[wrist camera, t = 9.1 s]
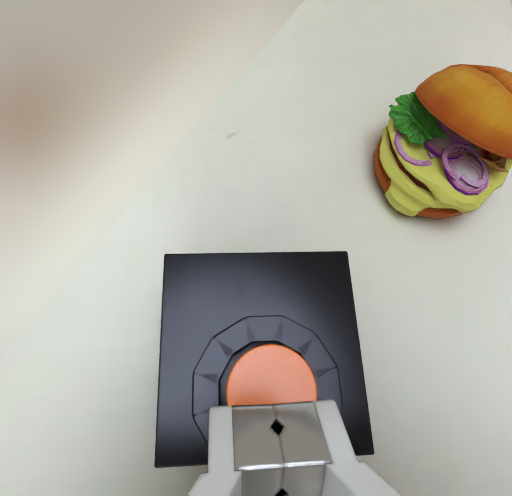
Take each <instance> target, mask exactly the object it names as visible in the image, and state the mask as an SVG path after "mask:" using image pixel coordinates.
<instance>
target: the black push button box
mask: <svg viewBox="0 0 512 496" xmlns="http://www.w3.org/2000/svg"><path fill="white" fill-rule="evenodd" d="M265 344H277V345H282V346H285V347H288V348H290V349H292V350H293V351H295V352H297V353H298V354H299V355H300V356H301V357H302V358H303V359H304V360H305V361H306V362H307V364H308V365H309V366H310V368H311V370H312V372H313V375H314V377H315V381H316V385H317V401H318V400H334V401H335V403H336V405H337V407H338V410H339V413H340V415H341V418H342V421H343V423H344V426H345V429H346V432H347V434H348V437H349V440H350V442H351V445H352V448H353V450H354V453H355V456H360V455H373V454H374V447H373V439H372V432H371V425H370V417H369V410H368V402H367V395H366V387H365V380H364V372H363V365H362V358H361V350H360V343H359V335H358V328H357V320H356V313H355V305H354V298H353V291H352V283H351V276H350V268H349V261H348V253H347V251H332V252H267V253H202V254H165V255H164V271H163V293H162V314H161V336H160V358H159V379H158V401H157V422H156V444H155V465H154V466H155V468H165V467H181V466H197V465H208V446H209V411H210V406H227V401H226V385H227V380H228V377H229V374H230V371H231V369H232V367H233V366H234V364H235V363H236V361H237V360H238V359H239V358H240V357H241V356H242V355H243V354H244V353H246V352H247V351H249V350H250V349H252V348H254V347H257V346H260V345H265Z"/></svg>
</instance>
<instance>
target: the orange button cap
mask: <svg viewBox="0 0 512 496" xmlns="http://www.w3.org/2000/svg"><path fill="white" fill-rule="evenodd" d="M226 401H227V406H231V408H232V405H260V404H272V403H286V402H300V401H317V385H316V381H315V377H314V375H313V372H312V370H311V368H310V366H309V365H308V364H307V362H306V361H305V360H304V359H303V358H302V357H301V356H300V355H299V354H298V353H297V352H295V351H293V350H292V349H290V348H288V347H285V346H282V345H277V344H265V345H260V346H257V347H254V348H252V349H250V350H249V351H247V352H246V353H244V354H243V355H242V356H241V357H240V358H239V359H238V360H237V361H236V363H235V364H234V366H233V367H232V369H231V371H230V374H229V377H228V380H227V385H226Z"/></svg>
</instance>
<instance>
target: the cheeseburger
mask: <svg viewBox="0 0 512 496" xmlns="http://www.w3.org/2000/svg"><path fill="white" fill-rule="evenodd" d="M395 100H396V102H397V103H398V105H397V106H394V105H390V106H389V107H391V110H390V113H389V116H390V120H389V123H388V125H387V126H386V127H385V128H384V129H383V134H382V136H381V138H380V140H379V142H378V144H377V147H376V150H375V153H374V159H375V173H376V175H377V177H378V179H379V182H380V184H381V186H382V189H383V191H384V192H385V197H386V198H387V200H388V202H389V203H390V204H391V205H392V207H393V208H394V209H395V210H397V211H398V212H400V213H402V214H403V215H407V216H415V215H416V214H417V215H418V216H423V217H432V218H442V219H443V218H447V217H451V216H456V215H460V214H463V213H468V212H471V211H474V210H476V209H478V208H479V207H480V205H481V204H482V203H483V202H484V201H485V200H486V199H487V198H488V197H489V196H490V195H491V193H492V192H493V191H495V190H496V189H498V188H499V187H501V186H502V185H503V183H504V181H505V178H506V176H507V174H508V172H509V170H510V168H511V166H512V73H511V72H509V71H506V70H504V69H501V68H497V67H491V66H481V65H466V64H460V65H451V66H449V67H447V68H445V69H443V70H442V71H439V72H437V73H435V74H433V75H431V76H430V77H429V78H427V79H426V80H425V81H424V82H422V83H421V84H420V85H419V86H418V87H417V89H416V90H415V92H412V93H410V94H407V95H401V96H400V97H397V98H396V99H395Z"/></svg>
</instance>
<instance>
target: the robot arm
mask: <svg viewBox="0 0 512 496" xmlns="http://www.w3.org/2000/svg"><path fill="white" fill-rule="evenodd" d="M187 496H402V495H401V494H400V493H399V492H398V491H396V490H395V489H394V488H393V487H392V486H391V485H390V484H389V483H388V482H386V481H385V480H384V479H383V478H382V477H381V476H380V475H379V474H378V473H376V472H375V471H374V470H373V469H372V468H371V467H370V466H369V465H368V464H366V463H365V462H364V461H363V462H358V461H357V458H356V456H355V453H354V450H353V448H352V445H351V442H350V440H349V437H348V434H347V432H346V429H345V426H344V423H343V421H342V418H341V415H340V413H339V410H338V407H337V405H336V403H335V401H334V400H318V401H300V402H286V403H272V404H260V405H232V408H231V406H210V411H209V446H208V473H203V474H201V475H200V476H199V478H198V479H197V481H196V482H195V484H194V485H193V487H192V488H191V490H190V492H189V493H188V495H187Z"/></svg>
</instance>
